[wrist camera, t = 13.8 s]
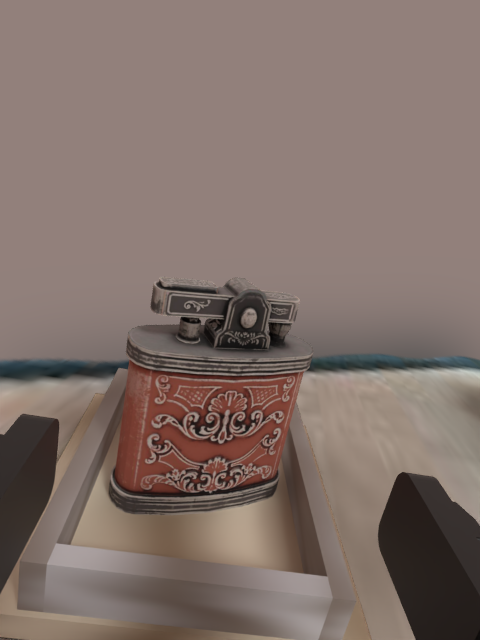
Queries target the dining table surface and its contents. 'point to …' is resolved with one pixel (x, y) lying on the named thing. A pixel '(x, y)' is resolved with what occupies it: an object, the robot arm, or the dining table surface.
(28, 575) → the tray
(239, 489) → the lighter
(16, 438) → the robot arm
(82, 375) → the dining table surface
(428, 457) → the dining table surface
